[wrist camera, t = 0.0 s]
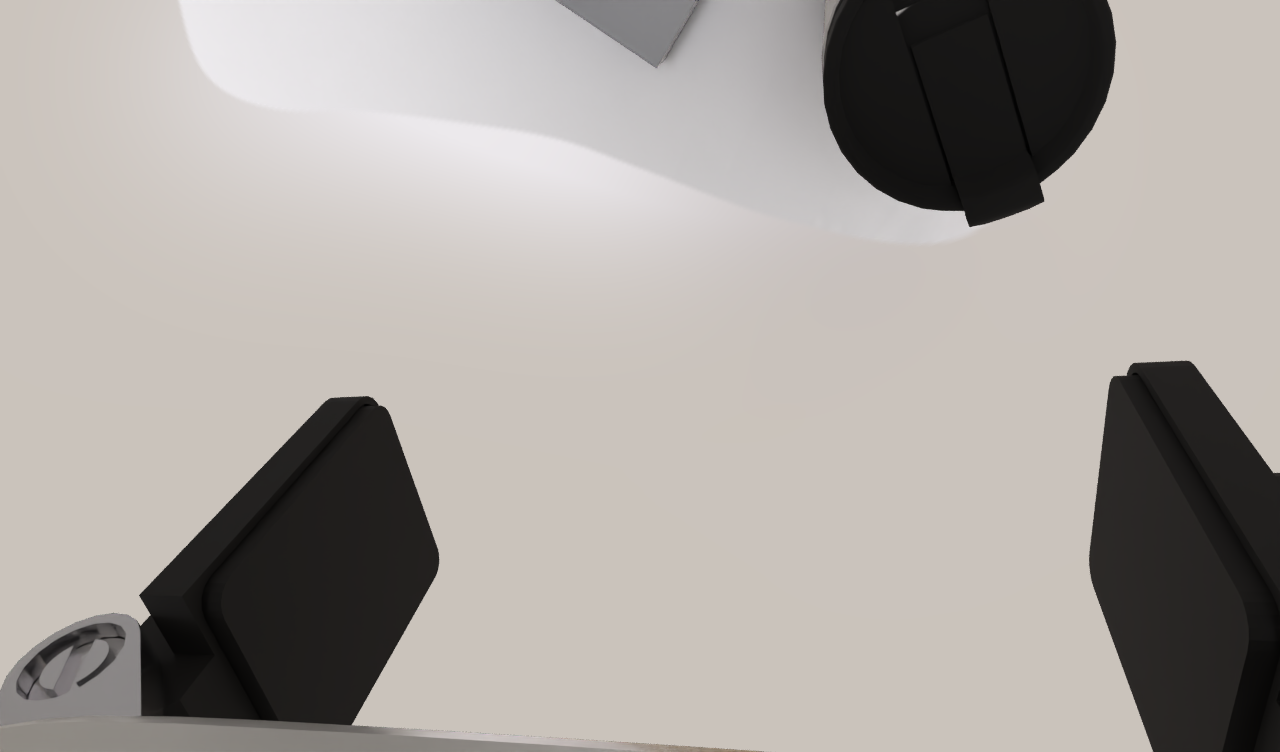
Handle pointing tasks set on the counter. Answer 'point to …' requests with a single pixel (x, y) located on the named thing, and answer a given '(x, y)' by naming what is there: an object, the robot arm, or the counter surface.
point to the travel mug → (965, 95)
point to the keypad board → (637, 23)
